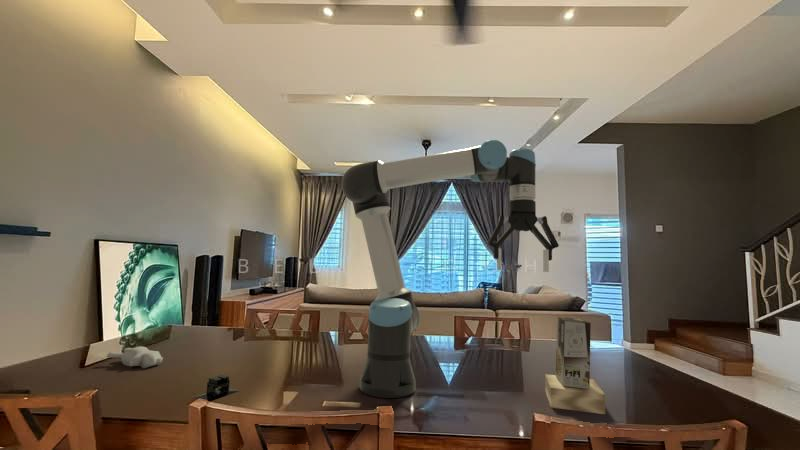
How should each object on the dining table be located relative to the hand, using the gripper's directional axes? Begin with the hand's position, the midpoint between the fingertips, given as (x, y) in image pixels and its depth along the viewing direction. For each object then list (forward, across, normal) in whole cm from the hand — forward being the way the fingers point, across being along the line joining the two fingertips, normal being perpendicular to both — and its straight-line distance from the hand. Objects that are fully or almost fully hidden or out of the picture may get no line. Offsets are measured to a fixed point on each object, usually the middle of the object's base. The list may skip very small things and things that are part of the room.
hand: (522, 271), depth 109 cm
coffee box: (+28, +10, -11) cm, 32 cm away
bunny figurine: (+33, -117, -3) cm, 121 cm away
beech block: (+33, +10, -11) cm, 36 cm away
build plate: (+34, -79, -22) cm, 89 cm away
